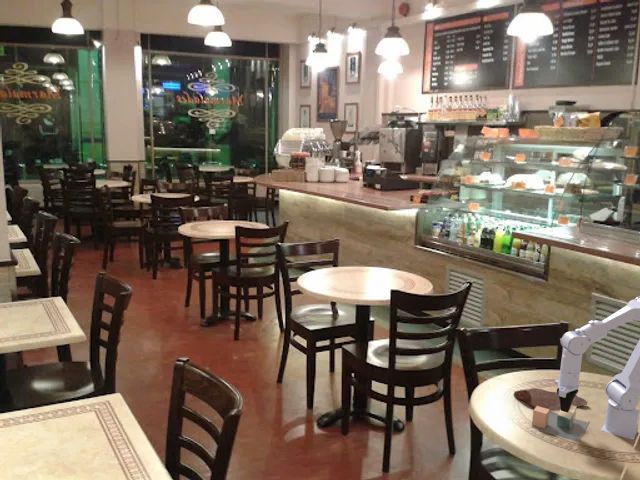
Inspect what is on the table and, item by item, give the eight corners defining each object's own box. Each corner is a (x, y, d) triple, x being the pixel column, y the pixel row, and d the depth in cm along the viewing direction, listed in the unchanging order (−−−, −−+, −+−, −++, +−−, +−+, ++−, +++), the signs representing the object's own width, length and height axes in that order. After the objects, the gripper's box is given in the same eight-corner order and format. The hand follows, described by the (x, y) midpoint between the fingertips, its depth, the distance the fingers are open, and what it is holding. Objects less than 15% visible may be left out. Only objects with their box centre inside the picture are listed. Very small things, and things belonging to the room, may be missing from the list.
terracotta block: (548, 424, 200) (549, 409, 199) (544, 428, 197) (546, 413, 196) (535, 420, 202) (537, 405, 201) (531, 424, 199) (533, 410, 198)
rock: (594, 408, 212) (584, 380, 218) (529, 411, 208) (521, 383, 214) (580, 418, 220) (571, 390, 226) (517, 421, 216) (509, 394, 222)
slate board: (589, 424, 202) (589, 422, 202) (577, 443, 190) (577, 441, 189) (545, 411, 210) (545, 410, 210) (531, 429, 197) (531, 427, 197)
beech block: (569, 429, 197) (575, 416, 202) (570, 419, 196) (576, 406, 201) (556, 425, 200) (562, 412, 205) (557, 415, 198) (563, 402, 203)
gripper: (562, 360, 202) (557, 399, 205) (550, 373, 190) (545, 415, 193) (585, 366, 198) (580, 405, 201) (574, 380, 186) (569, 422, 189)
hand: (564, 410), depth 197 cm, fingers closed
